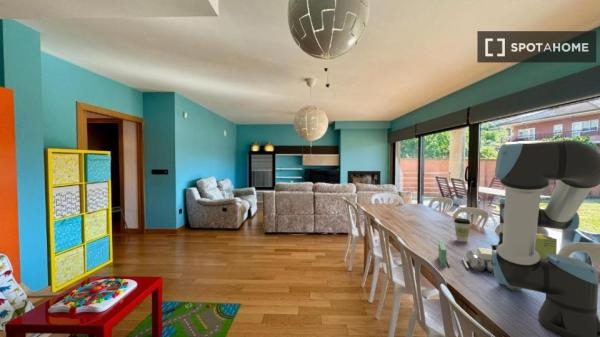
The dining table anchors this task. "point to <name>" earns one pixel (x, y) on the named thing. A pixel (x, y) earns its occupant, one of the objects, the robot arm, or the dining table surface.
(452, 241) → the dining table surface
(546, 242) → the protein box
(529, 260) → the robot arm
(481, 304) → the dining table surface
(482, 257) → the slab
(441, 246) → the bar
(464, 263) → the cradle
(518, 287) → the roller
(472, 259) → the roller bed
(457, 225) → the coffee cup
